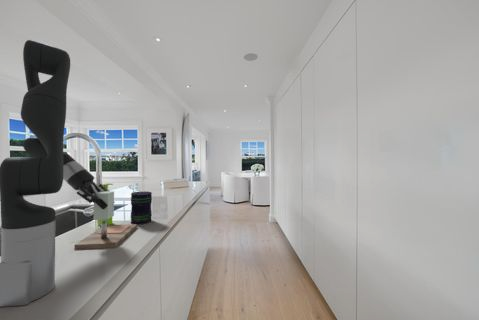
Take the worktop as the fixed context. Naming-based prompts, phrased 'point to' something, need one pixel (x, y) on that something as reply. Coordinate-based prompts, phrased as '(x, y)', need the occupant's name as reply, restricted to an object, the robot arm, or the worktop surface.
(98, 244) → the walnut board
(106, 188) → the lime green stepped cylinder
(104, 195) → the pale mint tall block
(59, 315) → the worktop surface
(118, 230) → the terracotta pad
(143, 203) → the dark blue ridged cylinder
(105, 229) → the steel post
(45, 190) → the robot arm
